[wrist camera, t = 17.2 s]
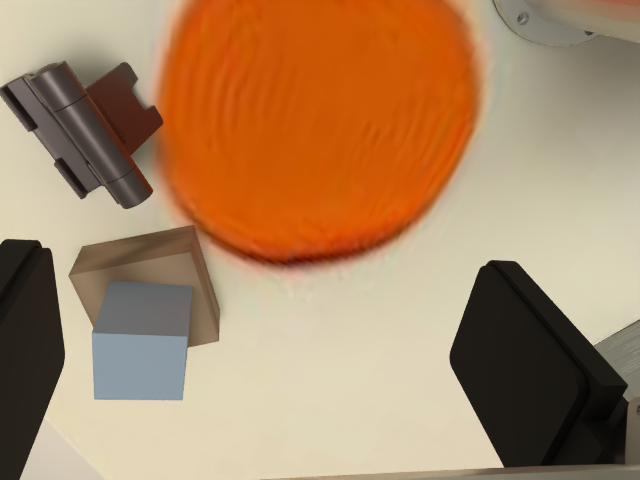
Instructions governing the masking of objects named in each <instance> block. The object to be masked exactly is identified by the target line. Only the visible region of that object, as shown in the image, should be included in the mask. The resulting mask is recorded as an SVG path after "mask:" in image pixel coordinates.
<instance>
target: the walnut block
mask: <svg viewBox="0 0 640 480" xmlns="http://www.w3.org/2000/svg"><path fill="white" fill-rule="evenodd" d="M69 278H70V280H71V282H72V284H73V286H74V288H75V290H76V292H77V294H78V296H79V298H80V301H81V303H82V305H83V307H84V309H85V311H86V313H87V315H88V317H89V319H90V321H91V323H92V325H93V327H94V326H95V323H96V320H97V317H98V314H99V311H100V309H101V306H102V303H103V300H104V297H105V294H106V291H107V289H108V286H109V283H110V281H123V282H139V283H156V284H173V285H189V286H192V299H191V312H190V324H189V337H188V347H193V346H198V345H202V344H207V343H212V342H217V341H219V321H220V309H219V306H218V303H217V299H216V296H215V293H214V290H213V286H212V283H211V280H210V277H209V273H208V270H207V267H206V264H205V260H204V257H203V254H202V250H201V247H200V244H199V241H198V237H197V234H196V231H195V228H194V225H191V226H186V227H181V228H176V229H171V230H165V231H160V232H155V233H150V234H145V235H140V236H134V237H129V238H124V239H119V240H114V241H109V242H103V243H98V244H93V245H88V246H83V247H82V249H81V251H80V253H79V255H78V257H77V259H76V261H75V263H74V265H73V267H72V269H71V271H70V273H69Z"/></svg>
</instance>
